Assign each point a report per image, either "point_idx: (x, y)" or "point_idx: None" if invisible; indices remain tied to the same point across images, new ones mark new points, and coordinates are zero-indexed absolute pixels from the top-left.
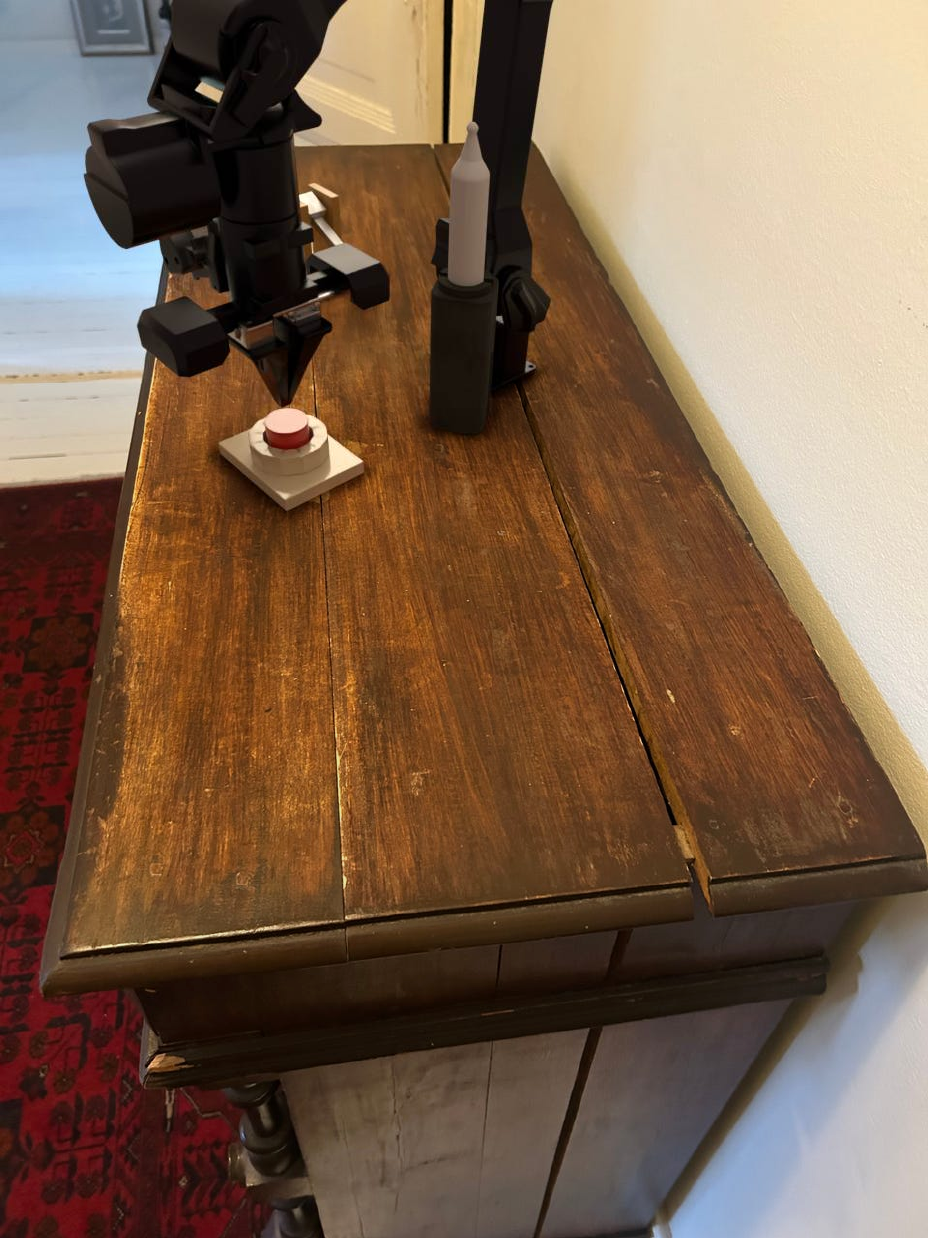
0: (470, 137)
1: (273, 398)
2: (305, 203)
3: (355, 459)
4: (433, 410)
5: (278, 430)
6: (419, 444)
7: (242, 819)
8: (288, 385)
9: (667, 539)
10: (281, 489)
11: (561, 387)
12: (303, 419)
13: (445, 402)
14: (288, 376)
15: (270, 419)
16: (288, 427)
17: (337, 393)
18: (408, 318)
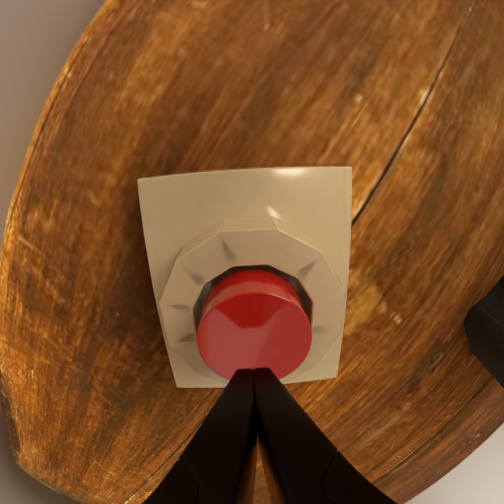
0: None
1: (232, 376)
2: None
3: (331, 368)
4: (481, 336)
5: (216, 363)
6: (429, 343)
7: (75, 488)
8: (263, 464)
9: (416, 480)
10: (182, 370)
11: None
12: (292, 358)
13: (491, 359)
14: (270, 489)
15: (222, 318)
16: (243, 367)
17: (446, 145)
18: None
